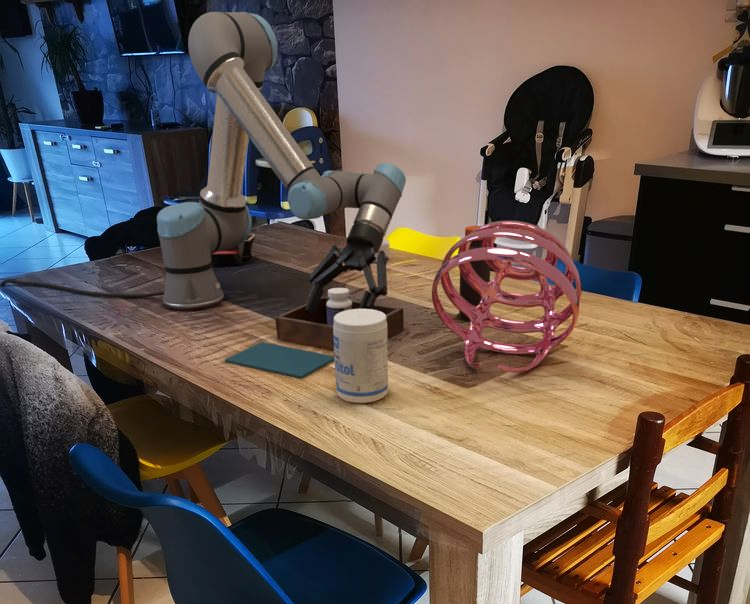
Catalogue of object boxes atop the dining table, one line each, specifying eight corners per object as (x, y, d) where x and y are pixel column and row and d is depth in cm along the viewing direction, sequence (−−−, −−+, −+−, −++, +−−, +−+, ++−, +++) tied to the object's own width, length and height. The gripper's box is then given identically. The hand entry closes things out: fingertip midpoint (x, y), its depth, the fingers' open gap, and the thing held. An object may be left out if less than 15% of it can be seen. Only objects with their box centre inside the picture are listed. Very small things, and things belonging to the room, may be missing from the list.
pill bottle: (350, 339, 164) (347, 294, 159) (325, 338, 165) (322, 293, 160) (356, 330, 169) (354, 286, 164) (331, 330, 170) (328, 286, 165)
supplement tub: (326, 396, 137) (320, 318, 130) (360, 380, 143) (356, 304, 136) (365, 409, 132) (362, 328, 124) (399, 392, 138) (397, 313, 130)
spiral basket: (532, 297, 119) (567, 173, 129) (387, 317, 135) (428, 205, 145) (584, 397, 139) (611, 283, 149) (453, 403, 155) (485, 300, 165)
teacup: (395, 260, 223) (394, 242, 220) (374, 265, 219) (374, 246, 217) (374, 255, 230) (374, 237, 227) (354, 259, 226) (353, 241, 223)
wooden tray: (277, 339, 166) (274, 317, 163) (324, 316, 179) (323, 296, 176) (359, 355, 155) (358, 331, 153) (403, 330, 168) (403, 308, 166)
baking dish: (212, 262, 238) (202, 230, 233) (265, 253, 235) (256, 220, 229) (198, 277, 227) (187, 244, 221) (253, 268, 223) (243, 234, 218)
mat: (224, 361, 155) (224, 359, 155) (262, 344, 164) (261, 341, 163) (301, 378, 145) (301, 376, 145) (336, 358, 154) (336, 356, 154)
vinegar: (453, 318, 174) (454, 228, 164) (470, 311, 178) (473, 223, 168) (476, 323, 170) (479, 232, 160) (494, 316, 174) (498, 226, 164)
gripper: (422, 246, 163) (388, 333, 160) (330, 236, 175) (297, 318, 172) (410, 225, 157) (374, 316, 154) (315, 217, 169) (280, 301, 166)
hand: (333, 317), depth 163 cm, fingers open, 12 cm apart
